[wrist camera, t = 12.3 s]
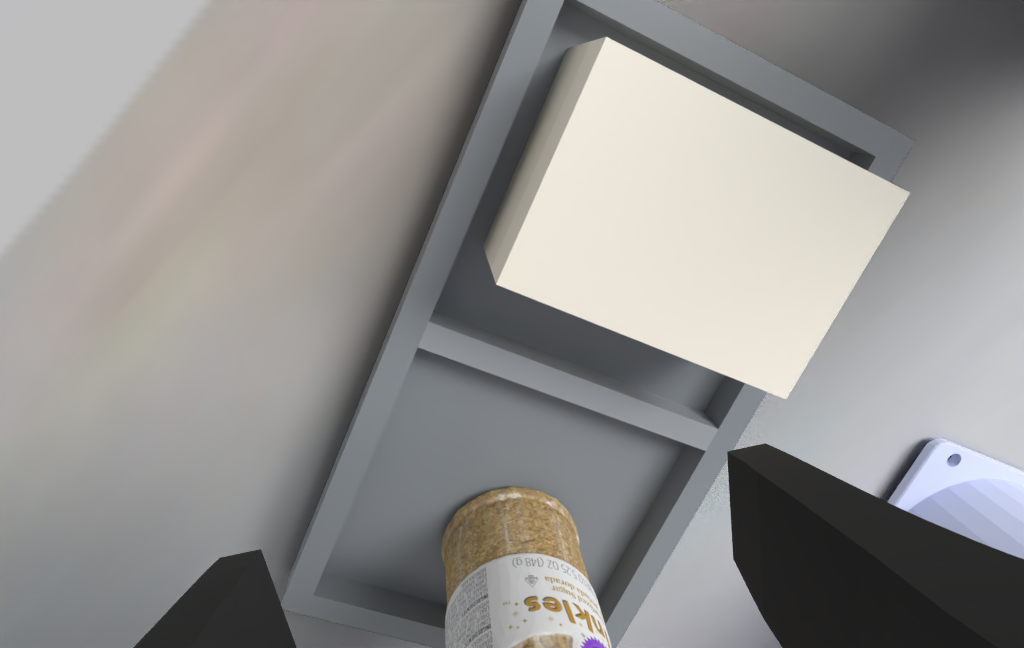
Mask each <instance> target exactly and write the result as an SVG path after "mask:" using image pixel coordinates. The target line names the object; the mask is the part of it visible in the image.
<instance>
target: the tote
mask: <svg viewBox="0 0 1024 648" xmlns="http://www.w3.org/2000/svg"><path fill="white" fill-rule="evenodd" d="M604 37H608V38H610V39H612V40H614V41H616V42H618V43H620V44H622V45H624V46H625V47H627V48H629V49H631V50H633V51H635V52H637V53H639V54H641V55H643V56H645V57H647V58H649V59H651V60H653V61H655V62H657V63H659V64H661V65H662V66H664V67H666V68H668V69H670V70H672V71H674V72H676V73H678V74H680V75H682V76H684V77H686V78H688V79H690V80H692V81H694V82H696V83H697V84H699V85H701V86H703V87H705V88H707V89H709V90H711V91H713V92H715V93H717V94H719V95H721V96H723V97H725V98H727V99H729V100H731V101H733V102H734V103H736V104H738V105H740V106H742V107H744V108H746V109H748V110H750V111H752V112H754V113H756V114H758V115H760V116H762V117H764V118H766V119H768V120H769V121H771V122H773V123H775V124H777V125H779V126H781V127H783V128H785V129H787V130H789V131H791V132H793V133H795V134H797V135H799V136H801V137H803V138H805V139H806V140H808V141H810V142H812V143H814V144H816V145H818V146H820V147H822V148H824V149H826V150H828V151H830V152H832V153H834V154H836V155H838V156H840V157H841V158H843V159H845V160H847V161H849V162H851V163H853V164H855V165H857V166H859V167H861V168H863V169H865V170H867V171H869V172H871V173H873V174H875V175H877V176H878V177H880V178H882V179H884V180H886V181H888V182H890V183H891V181H892V179H893V178H894V176H895V174H896V173H897V171H898V169H899V167H900V166H901V164H902V162H903V161H904V159H905V157H906V156H907V154H908V152H909V151H910V149H911V147H912V145H913V144H914V142H915V140H913V139H912V138H910V137H908V136H906V135H904V134H902V133H900V132H899V131H897V130H895V129H893V128H891V127H889V126H887V125H886V124H884V123H882V122H880V121H878V120H876V119H874V118H873V117H871V116H869V115H867V114H865V113H863V112H861V111H860V110H858V109H856V108H854V107H852V106H850V105H848V104H847V103H845V102H843V101H841V100H839V99H837V98H835V97H834V96H832V95H830V94H828V93H826V92H824V91H822V90H821V89H819V88H817V87H815V86H813V85H811V84H810V83H808V82H806V81H804V80H802V79H800V78H798V77H797V76H795V75H793V74H791V73H789V72H787V71H785V70H784V69H782V68H780V67H778V66H776V65H774V64H772V63H771V62H769V61H767V60H765V59H763V58H761V57H759V56H758V55H756V54H754V53H752V52H750V51H748V50H746V49H745V48H743V47H741V46H739V45H737V44H735V43H733V42H732V41H730V40H728V39H726V38H724V37H722V36H720V35H719V34H717V33H715V32H713V31H711V30H709V29H708V28H706V27H704V26H702V25H700V24H698V23H696V22H695V21H693V20H691V19H689V18H687V17H685V16H683V15H682V14H680V13H678V12H676V11H674V10H672V9H670V8H669V7H667V6H665V5H663V4H661V3H659V2H657V1H656V0H522V2H521V4H520V7H519V9H518V12H517V14H516V17H515V19H514V22H513V24H512V27H511V29H510V31H509V34H508V36H507V39H506V41H505V44H504V46H503V49H502V51H501V54H500V56H499V59H498V61H497V63H496V66H495V68H494V71H493V73H492V76H491V78H490V81H489V83H488V86H487V88H486V91H485V93H484V95H483V98H482V100H481V103H480V105H479V108H478V110H477V113H476V115H475V118H474V120H473V123H472V125H471V128H470V130H469V132H468V135H467V137H466V140H465V142H464V145H463V147H462V150H461V152H460V155H459V157H458V160H457V162H456V164H455V167H454V169H453V172H452V174H451V177H450V179H449V182H448V184H447V187H446V189H445V192H444V194H443V197H442V199H441V201H440V204H439V206H438V209H437V211H436V214H435V216H434V219H433V221H432V224H431V226H430V229H429V231H428V233H427V236H426V238H425V241H424V243H423V246H422V248H421V251H420V253H419V256H418V258H417V261H416V263H415V266H414V268H413V270H412V273H411V275H410V278H409V280H408V283H407V285H406V288H405V290H404V293H403V295H402V298H401V300H400V302H399V305H398V307H397V310H396V312H395V315H394V317H393V320H392V322H391V325H390V327H389V330H388V332H387V334H386V337H385V339H384V342H383V344H382V347H381V349H380V352H379V354H378V357H377V359H376V362H375V364H374V367H373V369H372V371H371V374H370V376H369V379H368V381H367V384H366V386H365V389H364V391H363V394H362V396H361V399H360V401H359V403H358V406H357V408H356V411H355V413H354V416H353V418H352V421H351V423H350V426H349V428H348V431H347V433H346V436H345V438H344V440H343V443H342V445H341V448H340V450H339V453H338V455H337V458H336V460H335V463H334V465H333V468H332V470H331V472H330V475H329V477H328V480H327V482H326V485H325V487H324V490H323V492H322V495H321V497H320V500H319V502H318V505H317V507H316V509H315V512H314V514H313V517H312V519H311V522H310V524H309V527H308V529H307V532H306V534H305V537H304V539H303V541H302V544H301V546H300V549H299V551H298V554H297V556H296V559H295V561H294V564H293V566H292V569H291V571H290V574H289V577H288V580H287V584H286V587H285V591H284V594H283V598H282V601H281V607H282V609H283V610H286V611H290V612H294V613H298V614H302V615H306V616H310V617H314V618H318V619H322V620H326V621H330V622H334V623H338V624H342V625H346V626H350V627H354V628H358V629H362V630H366V631H370V632H374V633H378V634H382V635H386V636H390V637H394V638H398V639H402V640H406V641H410V642H414V643H418V644H422V645H426V646H430V647H434V648H446V645H445V616H446V611H447V591H446V571H445V565H444V562H443V559H442V554H441V549H442V539H443V536H444V534H445V531H446V528H447V526H448V525H449V523H450V522H451V520H452V519H453V517H454V515H455V513H456V512H457V511H458V510H459V509H460V508H461V507H463V506H464V505H466V504H467V503H468V502H469V501H471V500H473V499H475V498H476V497H478V496H480V495H482V494H484V493H486V492H489V491H491V490H495V489H503V488H506V487H520V488H531V489H535V490H539V491H542V492H544V493H546V494H548V495H550V496H552V497H554V498H556V499H558V501H559V502H560V503H561V504H562V505H563V506H564V507H565V508H566V509H567V510H568V512H569V513H570V515H571V517H572V519H573V521H574V523H575V525H576V528H577V530H578V536H579V542H580V543H579V550H580V552H581V555H582V559H583V562H584V565H585V569H586V572H587V575H588V578H589V582H590V584H591V586H592V588H593V590H594V592H595V594H596V597H597V600H598V603H599V606H600V609H601V613H602V616H603V619H604V622H605V626H606V629H607V632H608V635H609V639H610V642H611V645H612V648H616V647H617V645H618V644H619V642H620V640H621V638H622V637H623V635H624V633H625V632H626V630H627V628H628V627H629V625H630V623H631V622H632V620H633V618H634V616H635V615H636V613H637V611H638V610H639V608H640V606H641V605H642V603H643V601H644V600H645V598H646V596H647V594H648V593H649V591H650V589H651V588H652V586H653V584H654V583H655V581H656V579H657V577H658V576H659V574H660V572H661V571H662V569H663V567H664V566H665V564H666V562H667V561H668V559H669V557H670V555H671V554H672V552H673V550H674V549H675V547H676V545H677V544H678V542H679V540H680V539H681V537H682V535H683V533H684V532H685V530H686V528H687V527H688V525H689V523H690V522H691V520H692V518H693V516H694V515H695V513H696V511H697V510H698V508H699V506H700V505H701V503H702V501H703V500H704V498H705V496H706V494H707V493H708V491H709V489H710V488H711V486H712V484H713V483H714V481H715V479H716V478H717V476H718V474H719V472H720V471H721V469H722V467H723V466H724V464H725V462H726V461H727V459H728V455H727V452H728V451H732V450H733V449H734V447H735V445H736V444H737V442H738V440H739V439H740V437H741V435H742V433H743V432H744V430H745V428H746V427H747V425H748V423H749V422H750V420H751V418H752V417H753V415H754V413H755V411H756V410H757V408H758V406H759V405H760V403H761V401H762V400H763V398H764V396H765V395H766V393H767V392H766V391H764V390H761V389H759V388H756V387H754V386H751V385H749V384H746V383H744V382H741V381H739V380H736V379H734V378H731V377H728V376H726V375H723V374H721V373H718V372H716V371H713V370H711V369H708V368H706V367H703V366H701V365H698V364H696V363H693V362H691V361H688V360H686V359H683V358H680V357H678V356H675V355H673V354H670V353H668V352H665V351H663V350H660V349H658V348H655V347H653V346H650V345H648V344H645V343H643V342H640V341H638V340H635V339H632V338H630V337H627V336H625V335H622V334H620V333H617V332H615V331H612V330H610V329H607V328H605V327H602V326H600V325H597V324H595V323H592V322H590V321H587V320H584V319H582V318H579V317H577V316H574V315H572V314H569V313H567V312H564V311H562V310H559V309H557V308H554V307H552V306H549V305H547V304H544V303H542V302H539V301H537V300H534V299H531V298H529V297H526V296H524V295H521V294H519V293H516V292H514V291H511V290H509V289H506V288H504V287H501V286H499V285H496V283H495V280H494V277H493V274H492V271H491V268H490V265H489V262H488V259H487V256H486V254H485V251H484V248H483V243H484V241H485V239H486V236H487V234H488V232H489V229H490V227H491V225H492V222H493V220H494V218H495V216H496V213H497V211H498V209H499V206H500V204H501V202H502V199H503V197H504V195H505V192H506V190H507V188H508V185H509V183H510V181H511V178H512V176H513V174H514V171H515V169H516V167H517V165H518V162H519V160H520V158H521V155H522V153H523V151H524V148H525V146H526V144H527V141H528V139H529V137H530V134H531V132H532V130H533V127H534V125H535V123H536V121H537V118H538V116H539V114H540V111H541V109H542V107H543V104H544V102H545V100H546V97H547V95H548V93H549V90H550V88H551V86H552V83H553V81H554V79H555V76H556V74H557V72H558V70H559V67H560V65H561V63H562V60H563V58H564V56H565V53H566V51H567V49H568V48H570V47H573V46H577V45H580V44H583V43H587V42H590V41H594V40H597V39H600V38H604Z"/></svg>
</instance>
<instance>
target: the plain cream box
mask: <svg viewBox="0 0 1024 648" xmlns="http://www.w3.org/2000/svg"><path fill="white" fill-rule="evenodd" d="M909 194H910V192H908V191H906V190H904V189H902V188H900V187H898V186H896V185H894V184H892V183H890V182H888V181H886V180H884V179H882V178H880V177H878V176H877V175H875V174H873V173H871V172H869V171H867V170H865V169H863V168H861V167H859V166H857V165H855V164H853V163H851V162H849V161H847V160H845V159H843V158H841V157H840V156H838V155H836V154H834V153H832V152H830V151H828V150H826V149H824V148H822V147H820V146H818V145H816V144H814V143H812V142H810V141H808V140H806V139H805V138H803V137H801V136H799V135H797V134H795V133H793V132H791V131H789V130H787V129H785V128H783V127H781V126H779V125H777V124H775V123H773V122H771V121H769V120H768V119H766V118H764V117H762V116H760V115H758V114H756V113H754V112H752V111H750V110H748V109H746V108H744V107H742V106H740V105H738V104H736V103H734V102H733V101H731V100H729V99H727V98H725V97H723V96H721V95H719V94H717V93H715V92H713V91H711V90H709V89H707V88H705V87H703V86H701V85H699V84H697V83H696V82H694V81H692V80H690V79H688V78H686V77H684V76H682V75H680V74H678V73H676V72H674V71H672V70H670V69H668V68H666V67H664V66H662V65H661V64H659V63H657V62H655V61H653V60H651V59H649V58H647V57H645V56H643V55H641V54H639V53H637V52H635V51H633V50H631V49H629V48H627V47H625V46H624V45H622V44H620V43H618V42H616V41H614V40H612V39H610V38H608V37H604V38H600V39H597V40H594V41H590V42H587V43H583V44H580V45H577V46H573V47H570V48H568V49H567V51H566V53H565V56H564V58H563V60H562V63H561V65H560V67H559V70H558V72H557V74H556V76H555V79H554V81H553V83H552V86H551V88H550V90H549V93H548V95H547V97H546V100H545V102H544V104H543V107H542V109H541V111H540V114H539V116H538V118H537V121H536V123H535V125H534V127H533V130H532V132H531V134H530V137H529V139H528V141H527V144H526V146H525V148H524V151H523V153H522V155H521V158H520V160H519V162H518V165H517V167H516V169H515V171H514V174H513V176H512V178H511V181H510V183H509V185H508V188H507V190H506V192H505V195H504V197H503V199H502V202H501V204H500V206H499V209H498V211H497V213H496V216H495V218H494V220H493V222H492V225H491V227H490V229H489V232H488V234H487V236H486V239H485V241H484V243H483V248H484V251H485V254H486V256H487V259H488V262H489V265H490V268H491V271H492V274H493V277H494V280H495V283H496V285H499V286H501V287H504V288H506V289H509V290H511V291H514V292H516V293H519V294H521V295H524V296H526V297H529V298H531V299H534V300H537V301H539V302H542V303H544V304H547V305H549V306H552V307H554V308H557V309H559V310H562V311H564V312H567V313H569V314H572V315H574V316H577V317H579V318H582V319H584V320H587V321H590V322H592V323H595V324H597V325H600V326H602V327H605V328H607V329H610V330H612V331H615V332H617V333H620V334H622V335H625V336H627V337H630V338H632V339H635V340H638V341H640V342H643V343H645V344H648V345H650V346H653V347H655V348H658V349H660V350H663V351H665V352H668V353H670V354H673V355H675V356H678V357H680V358H683V359H686V360H688V361H691V362H693V363H696V364H698V365H701V366H703V367H706V368H708V369H711V370H713V371H716V372H718V373H721V374H723V375H726V376H728V377H731V378H734V379H736V380H739V381H741V382H744V383H746V384H749V385H751V386H754V387H756V388H759V389H761V390H764V391H766V392H769V393H771V394H774V395H776V396H779V397H782V398H784V399H787V397H788V396H789V394H790V392H791V391H792V389H793V387H794V386H795V384H796V382H797V381H798V379H799V377H800V376H801V374H802V372H803V371H804V369H805V367H806V366H807V364H808V362H809V361H810V359H811V357H812V356H813V354H814V352H815V351H816V349H817V347H818V346H819V344H820V342H821V341H822V339H823V337H824V336H825V334H826V332H827V331H828V329H829V327H830V326H831V324H832V322H833V321H834V319H835V317H836V316H837V314H838V312H839V311H840V309H841V307H842V306H843V304H844V302H845V301H846V299H847V297H848V296H849V294H850V292H851V291H852V289H853V287H854V286H855V284H856V282H857V281H858V279H859V277H860V276H861V274H862V272H863V271H864V269H865V267H866V266H867V264H868V263H869V261H870V259H871V258H872V256H873V254H874V253H875V251H876V249H877V248H878V246H879V244H880V243H881V241H882V239H883V238H884V236H885V234H886V233H887V231H888V229H889V228H890V226H891V224H892V223H893V221H894V219H895V218H896V216H897V214H898V213H899V211H900V209H901V208H902V206H903V204H904V203H905V201H906V199H907V198H908V196H909Z"/></svg>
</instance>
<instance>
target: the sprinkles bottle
mask: <svg viewBox="0 0 1024 648" xmlns="http://www.w3.org/2000/svg"><path fill="white" fill-rule="evenodd" d="M579 543H580V542H579V536H578V530H577V528H576V525H575V523H574V521H573V519H572V517H571V515H570V513H569V512H568V510H567V509H566V508H565V507H564V506H563V505H562V504H561V503H560V502H559V501H558V499H556V498H554V497H552V496H550V495H548V494H546V493H544V492H542V491H539V490H535V489H531V488H520V487H506V488H503V489H495V490H491V491H489V492H486V493H484V494H482V495H480V496H478V497H476V498H475V499H473V500H471V501H469V502H468V503H467V504H466V505H464V506H463V507H461V508H460V509H459V510H458V511H457V512H456V513H455V515H454V517H453V519H452V520H451V522H450V523H449V525H448V526H447V528H446V531H445V534H444V536H443V539H442V549H441V554H442V559H443V562H444V565H445V571H446V591H447V611H446V616H445V645H446V648H612V645H611V642H610V639H609V635H608V632H607V629H606V626H605V622H604V619H603V616H602V613H601V609H600V606H599V603H598V600H597V597H596V594H595V592H594V590H593V588H592V586H591V584H590V582H589V578H588V575H587V572H586V569H585V565H584V562H583V559H582V555H581V552H580V550H579Z"/></svg>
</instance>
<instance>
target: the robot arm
mask: <svg viewBox="0 0 1024 648" xmlns="http://www.w3.org/2000/svg"><path fill="white" fill-rule="evenodd" d="M727 455H728V473H729V490H730V507H731V525H732V542H733V559H734V561H735V563H736V565H737V567H738V569H739V571H740V573H741V575H742V577H743V579H744V581H745V583H746V585H747V587H748V589H749V591H750V593H751V595H752V597H753V599H754V601H755V603H756V605H757V607H758V609H759V611H760V612H761V614H762V616H763V618H764V620H765V621H766V623H767V624H768V626H769V628H770V629H771V631H772V632H773V634H774V635H775V637H776V638H777V640H778V641H779V643H780V644H781V646H782V647H783V648H1024V471H1022V470H1020V469H1017V468H1015V467H1012V466H1010V465H1007V464H1005V463H1002V462H1000V461H997V460H995V459H992V458H990V457H988V456H985V455H983V454H980V453H978V452H975V451H973V450H970V449H968V448H965V447H963V446H960V445H958V444H956V443H953V442H951V441H948V440H946V439H942V438H937V439H933V440H932V441H930V442H928V444H927V445H926V446H925V447H924V448H923V450H922V451H921V453H920V454H919V456H918V457H917V459H916V460H915V462H914V463H913V465H912V466H911V468H910V469H909V471H908V472H907V473H906V475H905V476H904V478H903V479H902V481H901V482H900V484H899V485H898V487H897V488H896V490H895V491H894V493H893V494H892V496H891V497H890V499H889V500H888V501H887V502H886V501H883V500H881V499H879V498H877V497H875V496H873V495H871V494H869V493H867V492H865V491H863V490H860V489H858V488H856V487H854V486H852V485H850V484H848V483H846V482H844V481H842V480H840V479H838V478H836V477H834V476H832V475H830V474H828V473H826V472H824V471H822V470H820V469H818V468H816V467H814V466H812V465H810V464H808V463H806V462H804V461H802V460H800V459H798V458H796V457H794V456H792V455H790V454H787V453H785V452H783V451H781V450H779V449H777V448H774V447H772V446H770V445H767V444H761V445H756V446H751V447H747V448H742V449H737V450H732V451H728V452H727ZM951 455H952V457H951V458H950V459H949V460H948V458H949V457H950V456H951ZM134 648H296V645H295V643H294V640H293V637H292V634H291V631H290V629H289V626H288V623H287V620H286V618H285V615H284V612H283V609H282V607H281V604H280V601H279V598H278V595H277V593H276V590H275V587H274V584H273V582H272V579H271V576H270V573H269V571H268V568H267V565H266V562H265V559H264V557H263V554H262V551H261V549H260V550H256V551H251V552H246V553H241V554H237V555H232V556H227V557H222V558H219V559H218V560H217V561H216V562H215V563H214V564H213V565H212V566H211V567H210V568H209V569H208V570H207V571H206V572H205V573H204V574H203V575H202V576H201V577H200V578H199V579H198V580H197V581H196V582H195V583H194V584H193V585H192V586H191V587H190V588H189V589H188V591H187V592H186V593H185V594H184V595H183V596H182V597H181V598H180V599H179V600H178V601H177V602H176V603H175V604H174V605H173V606H172V608H171V609H170V610H169V611H168V612H167V613H166V614H165V615H164V616H163V617H162V618H161V619H160V620H159V621H158V623H157V624H156V625H155V626H154V627H153V628H152V629H151V630H150V631H149V632H148V633H147V634H146V635H145V636H144V637H143V638H142V639H141V640H140V641H139V643H138V644H137V645H136V646H135V647H134Z"/></svg>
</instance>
